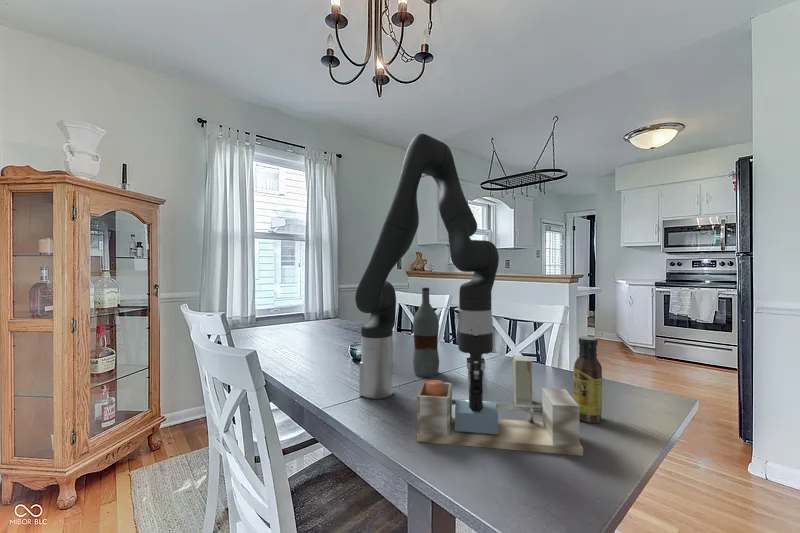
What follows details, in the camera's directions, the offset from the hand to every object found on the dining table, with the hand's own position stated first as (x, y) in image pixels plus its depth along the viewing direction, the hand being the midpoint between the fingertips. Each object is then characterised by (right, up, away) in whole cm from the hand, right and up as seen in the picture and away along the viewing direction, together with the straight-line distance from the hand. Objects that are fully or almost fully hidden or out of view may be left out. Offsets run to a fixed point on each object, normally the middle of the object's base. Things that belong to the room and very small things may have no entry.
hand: (475, 406), depth 79 cm
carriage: (0, -4, 0) cm, 4 cm away
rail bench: (+4, -6, -1) cm, 7 cm away
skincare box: (+17, -6, +18) cm, 25 cm away
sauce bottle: (+29, -6, +8) cm, 31 cm away
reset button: (-9, +1, +2) cm, 9 cm away
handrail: (+6, -5, +4) cm, 8 cm away
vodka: (-8, -6, +45) cm, 46 cm away
